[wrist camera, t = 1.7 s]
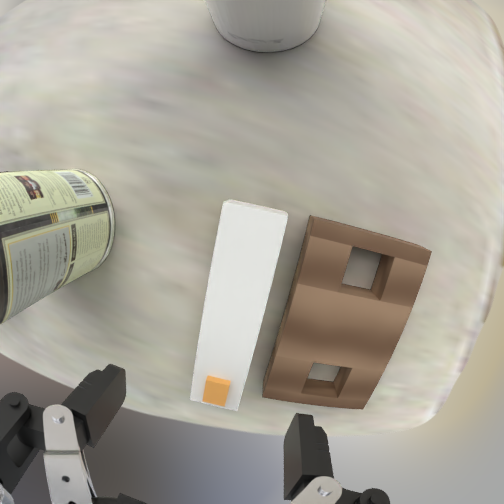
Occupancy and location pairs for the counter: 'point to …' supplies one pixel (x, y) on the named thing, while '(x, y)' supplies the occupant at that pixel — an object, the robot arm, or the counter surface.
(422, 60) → the counter surface
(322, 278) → the mounting board
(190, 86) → the counter surface
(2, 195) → the coffee can
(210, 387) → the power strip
